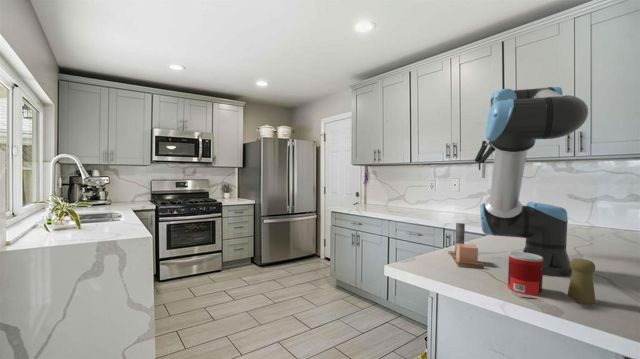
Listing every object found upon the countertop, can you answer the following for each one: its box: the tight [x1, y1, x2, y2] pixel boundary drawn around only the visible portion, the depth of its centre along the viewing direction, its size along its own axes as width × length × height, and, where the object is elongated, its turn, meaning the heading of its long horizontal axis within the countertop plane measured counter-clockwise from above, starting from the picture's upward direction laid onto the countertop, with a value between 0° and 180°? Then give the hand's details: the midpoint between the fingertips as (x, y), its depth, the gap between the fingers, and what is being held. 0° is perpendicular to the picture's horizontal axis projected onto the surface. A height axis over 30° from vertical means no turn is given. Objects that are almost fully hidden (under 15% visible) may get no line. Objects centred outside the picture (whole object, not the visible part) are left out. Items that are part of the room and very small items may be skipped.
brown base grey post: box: [447, 222, 485, 270], centre depth 117 cm, size 22×8×13 cm, turn 166°
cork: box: [566, 258, 597, 306], centre depth 83 cm, size 6×6×11 cm
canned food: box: [507, 251, 544, 300], centre depth 87 cm, size 8×8×11 cm
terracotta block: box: [455, 243, 479, 263], centre depth 113 cm, size 6×6×6 cm
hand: (498, 178), depth 133 cm, fingers open, 13 cm apart
